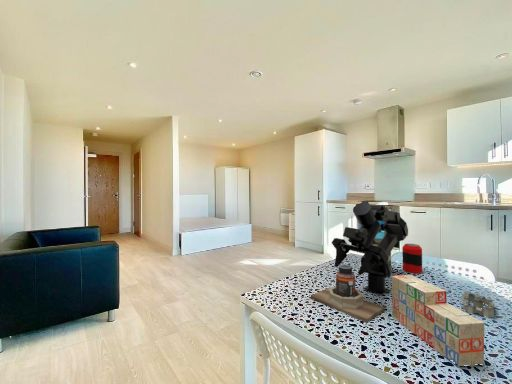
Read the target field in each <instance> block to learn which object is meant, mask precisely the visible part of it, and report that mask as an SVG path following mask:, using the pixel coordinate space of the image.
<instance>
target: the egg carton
mask: <svg viewBox="0 0 512 384" xmlns="http://www.w3.org/2000/svg"><path fill="white" fill-rule="evenodd" d="M460 300H461V302H462V311H464V310H466V311H467V312H466V311H465V312H466V313H467V314H470V313H472V314H471V315H474V314H473V313H478V314H477V315H480V314H481V315H480V316H482V315H483V316H486V317H489V318H491V317H493V318H494V317H495V313H494V312H495V311H494V309H495V308H494V307H495V305H496V303H495V302H494V300H493V298H486V297H485V295H480V294H477V293H474V292H473V293H471V292H469V291H467V290H464V292H463V294H462V296H461V299H460ZM469 301H473V302H472V304H473V306H470V302H469ZM483 303H484V304H488V306H487V307H486V306H484V305H483ZM481 308H482V309H481ZM483 316H482V317H483ZM486 317H485V318H486Z"/></svg>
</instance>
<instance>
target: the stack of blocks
mask: <svg viewBox="0 0 512 384" xmlns="http://www.w3.org/2000/svg"><path fill="white" fill-rule="evenodd" d="M391 298H392V299H391V302H392V303H391V304H392V307H391V315H392V317H393V318H394V319H395V320H396V321H398V322H399V323H400V324H401V325H403V326H404V327H405V328H406V329H408V330H409V331H410V332H412V334H414V335H416V336H417V337H418V338H420V339H421V340H422V341H424V342H425V343H427V344H428V346H430V347H432V348H433V349H434V348H435V349H434V350H435V351H436V352H437V353H439V352H440V353H441V354H440V353H439V354H440V355H442V356H443V357H444V356H445V357H444V358H446V357H447V358H449V359H450V360H453V362H455V364H457V365H458V366H464V365H475V364H483V363H484V364H485V322H484V321H482V320H480V319H478V318H476V317H474V316H472V315H470V313H468V312H466V311H464V310H461V309H459V308H457V307H455V306H453V305H451V304H449V303H447V302H448V300H447V290H445V289H443V288H440V287H439V286H436V285H434V284H432V283H430V282H427V281H426V280H424V279H423V280H422V279H420V278H418V277H417V276H415V275H412V274H401V275H399V274H398V275H391ZM447 358H446V359H447ZM455 364H454V365H455Z"/></svg>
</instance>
